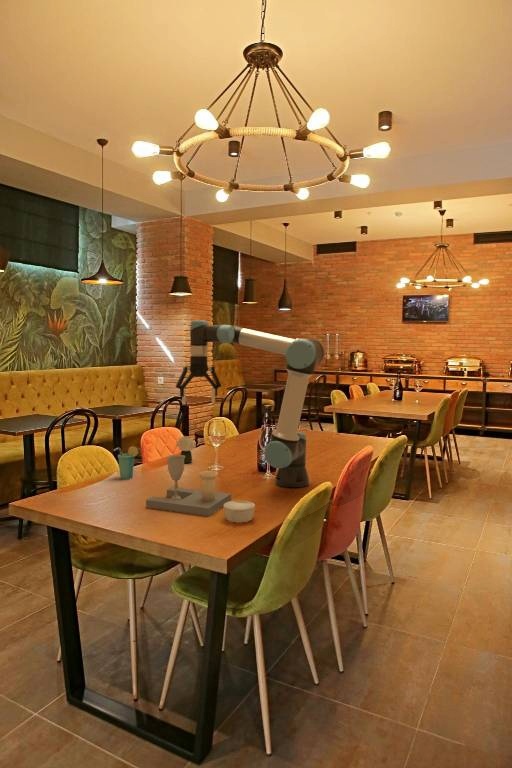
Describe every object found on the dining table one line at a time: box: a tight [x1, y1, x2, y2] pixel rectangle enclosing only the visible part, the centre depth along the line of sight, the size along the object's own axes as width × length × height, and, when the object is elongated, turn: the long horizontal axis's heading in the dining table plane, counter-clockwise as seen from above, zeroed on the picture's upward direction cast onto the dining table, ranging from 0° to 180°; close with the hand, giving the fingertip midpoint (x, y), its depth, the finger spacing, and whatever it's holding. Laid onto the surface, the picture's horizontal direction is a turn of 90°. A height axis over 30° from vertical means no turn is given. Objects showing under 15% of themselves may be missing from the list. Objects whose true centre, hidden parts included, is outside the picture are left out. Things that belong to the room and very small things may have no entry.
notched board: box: [145, 470, 232, 517], centre depth 210 cm, size 26×20×13 cm
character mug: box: [175, 435, 197, 464], centre depth 281 cm, size 11×7×13 cm, turn 71°
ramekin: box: [222, 499, 256, 524], centre depth 195 cm, size 11×11×5 cm
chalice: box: [166, 454, 186, 500], centre depth 212 cm, size 7×7×18 cm
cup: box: [112, 445, 139, 480], centre depth 248 cm, size 14×8×15 cm, turn 149°
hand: (198, 403), depth 243 cm, fingers open, 13 cm apart
